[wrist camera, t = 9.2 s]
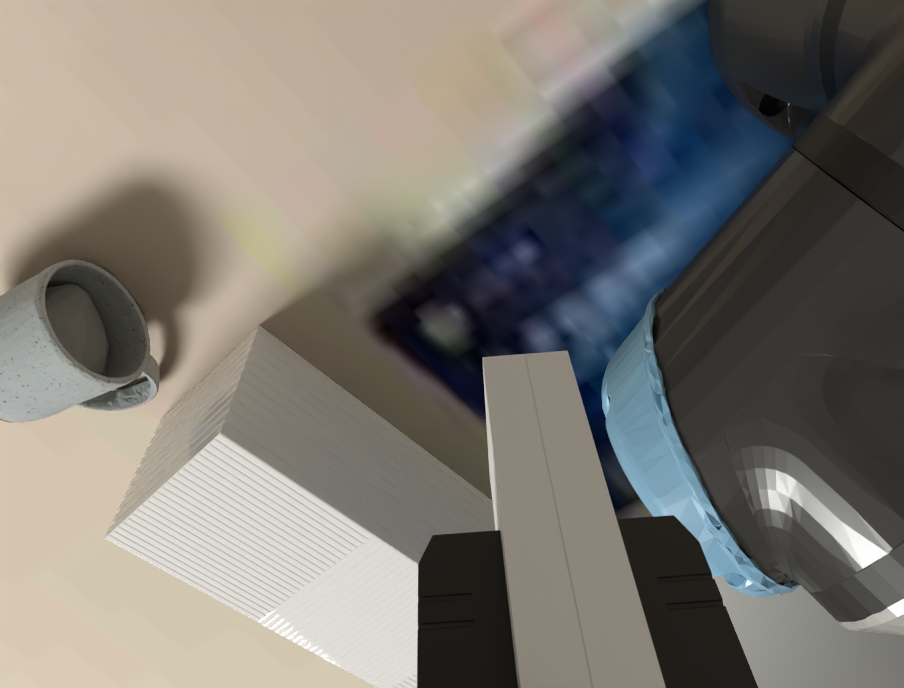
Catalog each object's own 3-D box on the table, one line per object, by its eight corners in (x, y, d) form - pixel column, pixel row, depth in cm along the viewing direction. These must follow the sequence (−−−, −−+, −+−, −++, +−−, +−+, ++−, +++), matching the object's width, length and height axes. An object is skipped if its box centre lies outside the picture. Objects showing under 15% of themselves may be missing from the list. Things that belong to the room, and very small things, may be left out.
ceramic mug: (-24, 296, 45) (-96, 371, 39) (79, 235, 43) (20, 303, 37) (103, 414, 50) (57, 497, 44) (199, 364, 48) (166, 443, 42)
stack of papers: (578, 563, 60) (605, 688, 51) (481, 624, 64) (490, 750, 55) (259, 322, 47) (220, 433, 38) (161, 417, 51) (104, 538, 42)
